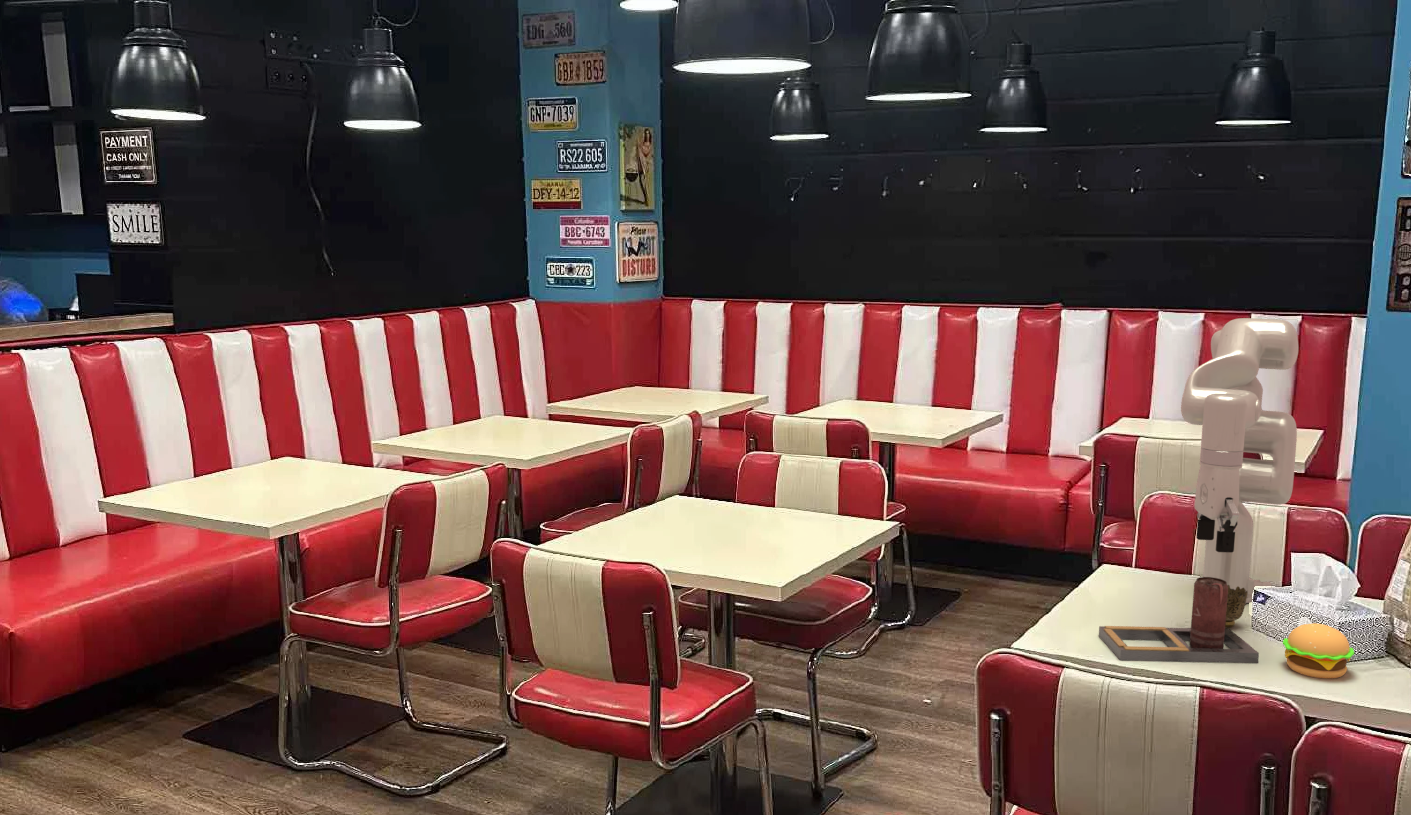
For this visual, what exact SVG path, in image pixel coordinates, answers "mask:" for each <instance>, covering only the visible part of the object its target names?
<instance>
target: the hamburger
mask: <svg viewBox="0 0 1411 815" xmlns="http://www.w3.org/2000/svg"><path fill="white" fill-rule="evenodd" d="M1282 645H1284V647H1285V650H1284V658H1285V659H1286V663H1287V665H1288V667H1289V668H1290V669H1291V670H1292V671H1294V672H1296V673H1298V674H1300V675H1303V676H1307V677H1311V678H1317V679H1329V680H1330V679H1338V678H1340V677H1343V676H1344V675H1345V674H1346V673H1347V671H1348V667H1347V664H1348V662H1350V661H1351V657H1353V656H1354V655H1355V650H1354V648H1353V647H1350V643H1349V641H1348V639H1347V637H1346V635H1345V634H1343V632H1341V631H1340V630H1339V629H1337V628H1334V627H1332V626H1330V625H1327V624H1322V623H1316V622H1315V623H1314V622H1313V623H1306V624H1301V625H1299V626H1297V627H1295V628H1293V629H1292V631H1291V632H1290V633H1289V634H1288V637H1284V639H1283V640H1282Z"/></svg>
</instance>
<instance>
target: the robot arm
mask: <svg viewBox="0 0 1411 815" xmlns="http://www.w3.org/2000/svg"><path fill="white" fill-rule="evenodd" d="M1210 352H1211V357H1212V358H1211V359H1209V360H1208V361H1206V362H1204V363H1202V364H1201V365H1199V366H1197V367H1196V368H1194V369H1193V371H1192V372H1191V373H1190V374H1189V375H1188V377H1187V379H1186V383H1185V386H1184V388H1183V394H1182V397H1181V402H1180V403H1181V404H1180V411H1181V416H1182V418H1183V420H1184V421H1185V422H1186V423H1188V424H1190V425H1195V426H1202V427H1201V440H1200V453H1199V454H1200V456H1199V465H1200V466H1199V469H1198V475H1197V479H1196V482H1197V483H1196V489H1195V495H1194V504H1193V505H1194V509H1195V510H1196V512H1197V516H1196V517H1197V522H1196V524H1197V525H1196V526H1197V527H1196V536H1195V537H1196V539H1197V540H1198V541H1199V540H1200V541H1205V546H1204V548H1205V549H1204V557H1203V558H1204V559H1203V572H1202V577H1212V578H1218V579H1222V580H1224V581H1226V582H1227V585H1230V588H1231V589H1235V590H1236V587H1237V586H1238V587H1240V589H1241V588H1244V589H1245V590H1246V591H1247V592H1248V594H1247V599H1246V604H1250V603H1253V602H1252V600H1253V599H1252V593H1253V592H1254V591H1253V590H1254V587H1255V586H1271V587H1272V583H1271V581H1261V580H1260V579H1253V578H1251V577H1250V575H1251V574H1250V573H1251V572H1250V571H1251V562H1252V561H1251V560H1252V548H1253V547H1252V546H1253V536H1254V519H1253V517H1252V515H1251V513H1250V512H1249V510H1248V509H1247V507H1246V506H1245V505H1244V504H1243V503H1255V504H1264V505H1265V504H1266V505H1277V506H1279V505H1285V504H1287V503H1288V502H1290V499H1291V497H1292V494H1293V488H1294V479H1295V478H1294V477H1295V464H1296V454H1297V452H1296V451H1297V443H1298V442H1297V441H1298V440H1297V438H1298V436H1297V435H1298V429H1297V423H1296V420H1295V418H1294V417H1293V415H1291V414H1290V413H1287V412H1284V411H1276V410H1263V409H1262V406H1263V405H1262V404H1263V402H1262V401H1263V391H1264V389H1263V386H1262V384H1261V381H1260V380H1259V378H1257V375H1258V373H1259V370H1260V369H1262V370H1263V369H1264V370H1278V371H1281V370H1282V371H1283V370H1289V369H1291V368H1292V367H1293V366H1294V365H1295V363H1296V362H1297V359H1298V355H1299V339H1298V334H1297V331H1296V328H1295V326H1294V325H1293V324H1292V323H1290V322H1289V321H1287V320H1286V319H1285V320H1284V319H1275V318H1271V319H1270V318H1253V317H1251V318H1249V317H1248V318H1247V317H1243V318H1242V317H1241V318H1235V319H1232V320H1229V321H1228V322H1227V323H1225V324H1224V326H1223V327H1222V329H1220V330H1217V331H1215V332H1214V333H1213V335H1212V337H1211V341H1210ZM1244 453H1249V454H1250V453H1251V454H1252V453H1253V454H1263V455H1264V454H1265V455H1269V456H1270V457H1271V458H1272V460H1269V459H1268V460H1267V459H1266V460H1265V459H1259V458H1258V459H1257V458H1256V459H1255V458H1250V457H1249V458H1248V457H1244Z"/></svg>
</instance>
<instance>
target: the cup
mask: <svg viewBox="0 0 1411 815" xmlns="http://www.w3.org/2000/svg"><path fill="white" fill-rule="evenodd" d="M1227 586H1228V597H1227V610H1226V622H1225V629H1230V628H1234V627H1235V625H1236V621H1237V620H1239V619H1240V618H1241V617H1242V615H1243V614H1244V611H1245V607H1246V604H1247V603H1246V599H1247V594H1248V592H1247V591H1246V590H1245V589H1244V588H1241V589H1240V587H1238V586H1237V587H1236V590H1235V589H1231V588H1230V585H1227Z"/></svg>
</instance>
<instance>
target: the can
mask: <svg viewBox="0 0 1411 815" xmlns="http://www.w3.org/2000/svg"><path fill="white" fill-rule="evenodd" d="M1227 597H1228V586H1227V582H1226V581H1224V580H1222V579H1218V578H1212V577H1203V576H1199V577H1197V578H1196V580H1195V581H1194V583H1193V596H1192V608H1191V623H1190V628H1191V634H1190V641H1189V647H1191V648H1211V649H1225V648H1224V645H1225V643H1224V635H1225V629H1226V628H1225V622H1226V610H1227Z"/></svg>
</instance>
